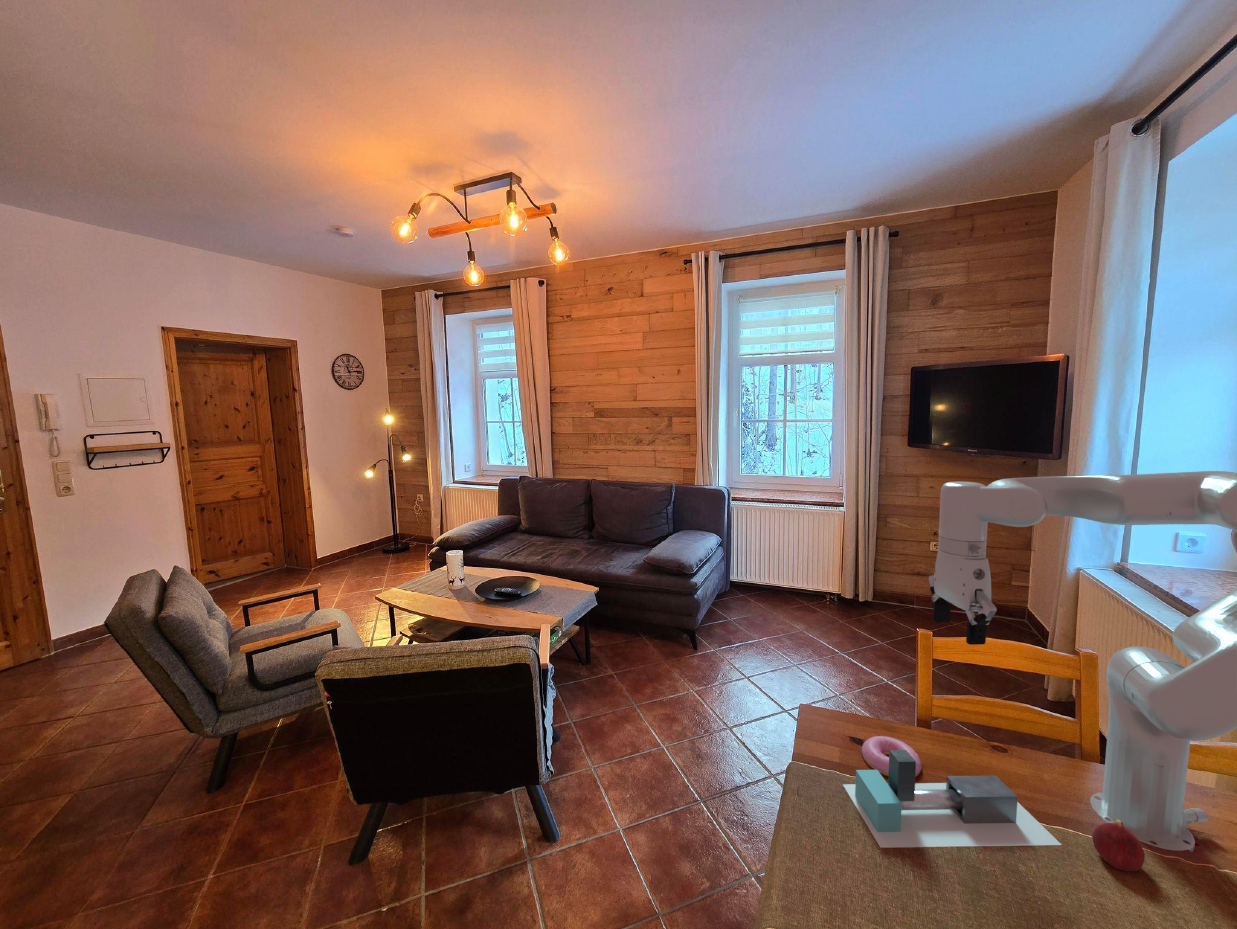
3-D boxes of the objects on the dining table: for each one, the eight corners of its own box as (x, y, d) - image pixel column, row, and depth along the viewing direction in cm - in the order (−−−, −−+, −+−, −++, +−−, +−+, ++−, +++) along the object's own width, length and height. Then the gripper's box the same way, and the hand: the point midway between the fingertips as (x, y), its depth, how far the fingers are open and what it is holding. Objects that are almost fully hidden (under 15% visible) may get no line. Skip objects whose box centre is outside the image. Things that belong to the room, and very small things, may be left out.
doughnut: (866, 780, 98) (867, 760, 98) (857, 744, 108) (857, 727, 108) (928, 791, 95) (929, 771, 94) (912, 753, 105) (913, 735, 105)
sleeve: (994, 800, 90) (995, 775, 90) (1016, 822, 85) (1017, 796, 85) (945, 801, 91) (946, 776, 90) (964, 823, 86) (965, 797, 85)
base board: (997, 787, 95) (997, 782, 95) (1061, 851, 81) (1062, 845, 81) (842, 790, 95) (842, 784, 95) (880, 853, 81) (880, 847, 81)
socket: (876, 795, 92) (877, 769, 92) (900, 831, 84) (901, 803, 84) (855, 796, 92) (855, 770, 92) (877, 832, 84) (878, 803, 84)
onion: (1153, 888, 75) (1158, 840, 74) (1109, 881, 76) (1113, 834, 75) (1122, 854, 80) (1126, 809, 80) (1081, 849, 81) (1085, 804, 81)
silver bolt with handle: (975, 800, 89) (978, 748, 88) (987, 813, 86) (990, 760, 85) (871, 801, 90) (872, 750, 89) (879, 814, 87) (881, 762, 86)
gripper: (1017, 559, 85) (1012, 653, 87) (951, 535, 102) (947, 614, 104) (974, 559, 85) (969, 654, 87) (915, 535, 102) (912, 614, 104)
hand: (957, 632), depth 95 cm, fingers open, 9 cm apart
